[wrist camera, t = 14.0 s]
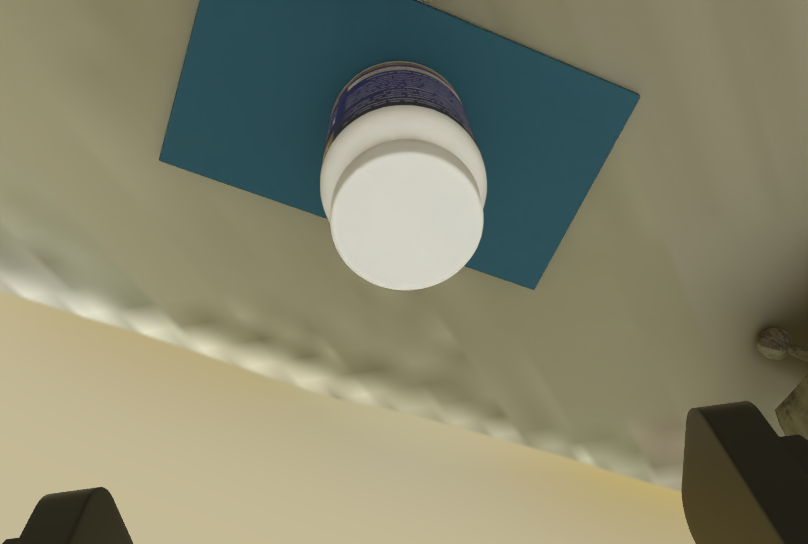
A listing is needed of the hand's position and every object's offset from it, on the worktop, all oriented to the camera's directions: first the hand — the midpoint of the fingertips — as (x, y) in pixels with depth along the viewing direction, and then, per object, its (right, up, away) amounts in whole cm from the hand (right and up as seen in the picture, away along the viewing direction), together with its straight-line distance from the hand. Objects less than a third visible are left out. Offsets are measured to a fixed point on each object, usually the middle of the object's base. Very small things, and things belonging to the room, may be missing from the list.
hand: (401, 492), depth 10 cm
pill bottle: (0, +9, +21) cm, 23 cm away
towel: (0, +9, +21) cm, 23 cm away
